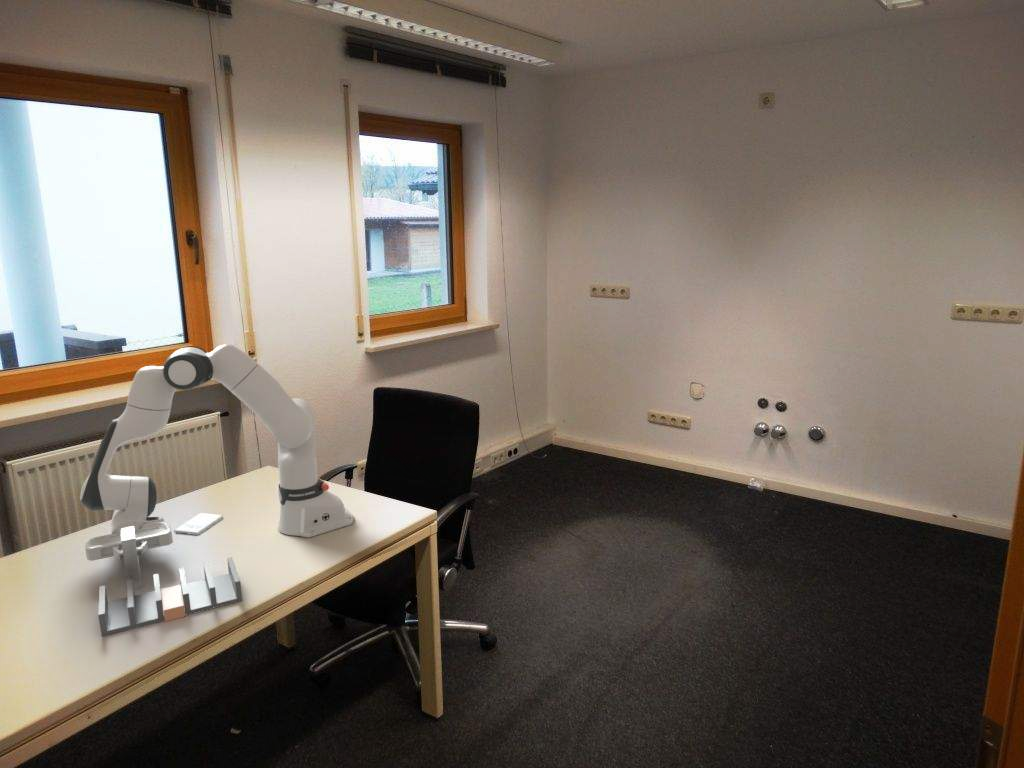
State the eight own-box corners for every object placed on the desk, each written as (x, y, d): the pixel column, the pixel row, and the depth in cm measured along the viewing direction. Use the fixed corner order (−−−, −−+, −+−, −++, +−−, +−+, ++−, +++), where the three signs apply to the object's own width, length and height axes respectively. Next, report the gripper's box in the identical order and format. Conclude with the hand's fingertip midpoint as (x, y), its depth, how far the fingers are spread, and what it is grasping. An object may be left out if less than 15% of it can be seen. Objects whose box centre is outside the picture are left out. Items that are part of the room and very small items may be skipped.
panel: (140, 574, 182) (134, 526, 179) (141, 588, 175) (134, 538, 172) (127, 577, 181) (120, 528, 177) (128, 591, 174) (121, 541, 170)
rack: (234, 575, 181) (232, 557, 180) (242, 602, 169) (240, 582, 168) (102, 606, 167) (99, 586, 166) (101, 637, 154) (98, 616, 153)
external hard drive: (223, 519, 216) (197, 537, 205) (200, 517, 218) (174, 534, 206) (222, 515, 216) (197, 532, 204) (199, 512, 218) (173, 529, 206)
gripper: (84, 531, 182) (81, 552, 170) (168, 515, 192) (172, 534, 180) (87, 552, 184) (85, 575, 172) (171, 535, 193) (175, 556, 182)
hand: (130, 554), depth 176 cm, fingers closed on panel, 3 cm apart
